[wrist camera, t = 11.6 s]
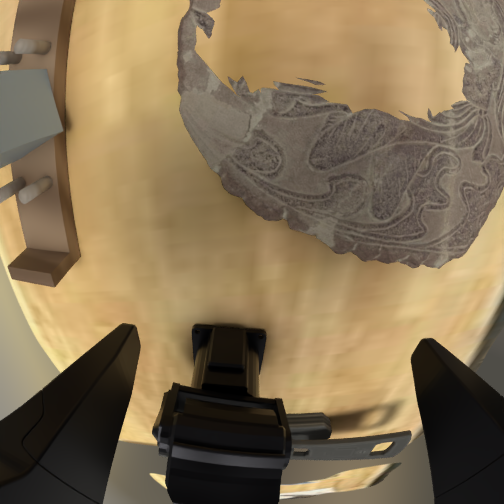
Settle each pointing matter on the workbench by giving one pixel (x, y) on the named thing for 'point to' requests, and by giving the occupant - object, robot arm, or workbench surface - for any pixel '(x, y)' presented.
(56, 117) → the frame block
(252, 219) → the workbench surface
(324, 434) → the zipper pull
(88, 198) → the workbench surface
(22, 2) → the rail
